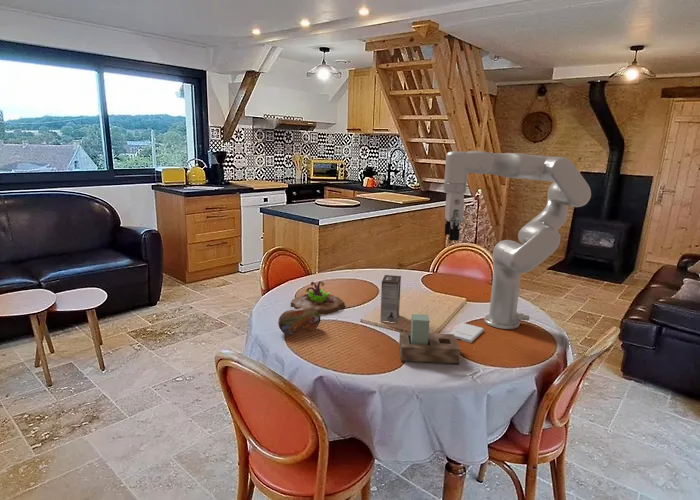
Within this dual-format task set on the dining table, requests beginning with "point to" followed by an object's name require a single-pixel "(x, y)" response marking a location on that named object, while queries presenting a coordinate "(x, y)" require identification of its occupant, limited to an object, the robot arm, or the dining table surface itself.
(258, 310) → the dining table surface
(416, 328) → the square peg
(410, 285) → the dining table surface
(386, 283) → the coffee box
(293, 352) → the dining table surface
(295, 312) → the tin
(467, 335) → the external hard drive
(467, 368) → the dining table surface
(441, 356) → the socket block
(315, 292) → the plant
